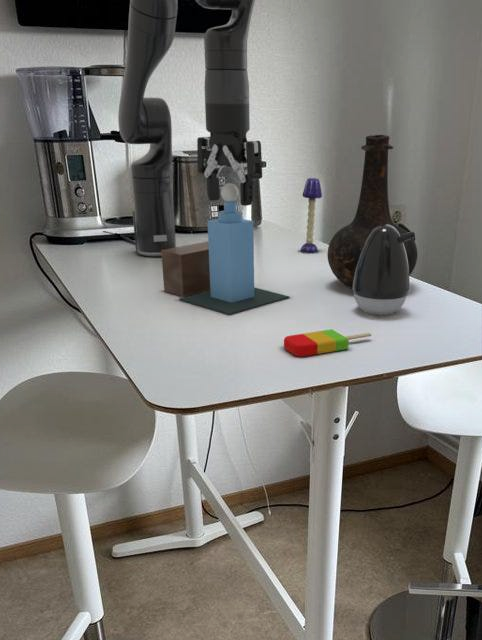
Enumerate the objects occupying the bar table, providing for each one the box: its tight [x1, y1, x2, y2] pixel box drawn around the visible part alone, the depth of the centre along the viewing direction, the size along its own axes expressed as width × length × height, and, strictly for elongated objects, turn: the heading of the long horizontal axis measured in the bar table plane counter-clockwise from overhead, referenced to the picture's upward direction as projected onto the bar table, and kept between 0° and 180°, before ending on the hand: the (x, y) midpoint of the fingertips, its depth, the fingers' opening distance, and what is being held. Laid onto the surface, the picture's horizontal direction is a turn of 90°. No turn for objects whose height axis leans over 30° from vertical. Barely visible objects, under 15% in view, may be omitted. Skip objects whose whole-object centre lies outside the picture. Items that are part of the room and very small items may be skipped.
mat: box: [178, 287, 290, 316], centre depth 135 cm, size 14×16×1 cm
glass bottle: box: [326, 134, 418, 289], centre depth 136 cm, size 18×18×28 cm
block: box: [161, 241, 210, 298], centre depth 139 cm, size 6×12×8 cm, turn 137°
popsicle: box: [283, 328, 372, 358], centre depth 111 cm, size 6×15×2 cm, turn 116°
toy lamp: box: [300, 177, 323, 254], centre depth 168 cm, size 5×5×17 cm
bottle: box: [207, 182, 255, 303], centre depth 130 cm, size 14×6×19 cm, turn 47°
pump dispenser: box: [352, 224, 417, 316], centre depth 124 cm, size 10×10×15 cm
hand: (229, 202), depth 126 cm, fingers open, 8 cm apart
